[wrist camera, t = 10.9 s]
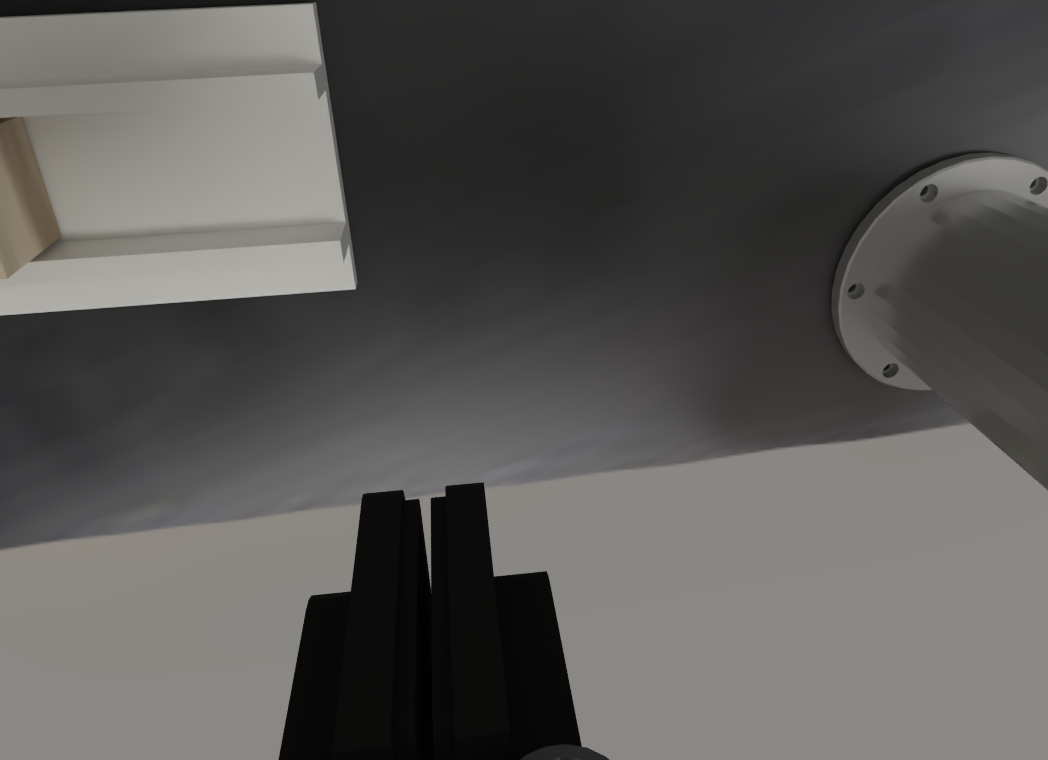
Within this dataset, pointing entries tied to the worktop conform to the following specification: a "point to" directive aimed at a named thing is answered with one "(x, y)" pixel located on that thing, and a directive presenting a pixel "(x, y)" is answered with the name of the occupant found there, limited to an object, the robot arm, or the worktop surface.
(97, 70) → the chute
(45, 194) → the block
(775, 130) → the worktop surface
